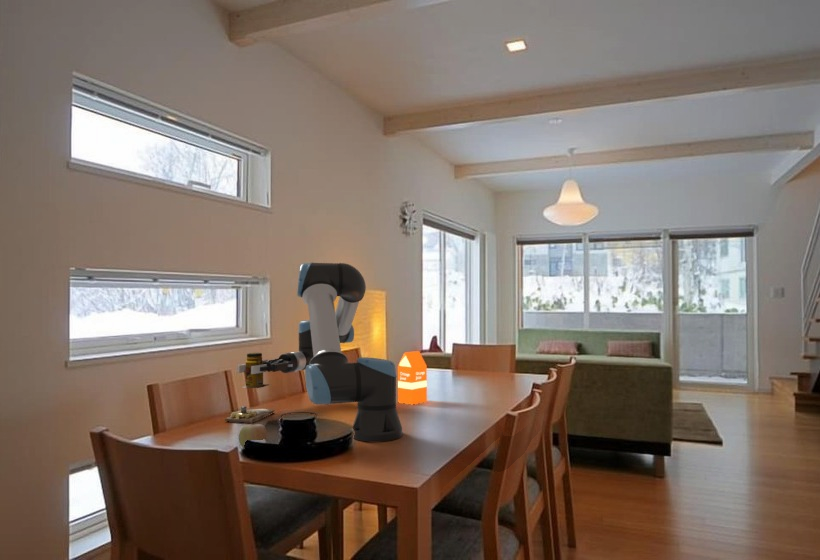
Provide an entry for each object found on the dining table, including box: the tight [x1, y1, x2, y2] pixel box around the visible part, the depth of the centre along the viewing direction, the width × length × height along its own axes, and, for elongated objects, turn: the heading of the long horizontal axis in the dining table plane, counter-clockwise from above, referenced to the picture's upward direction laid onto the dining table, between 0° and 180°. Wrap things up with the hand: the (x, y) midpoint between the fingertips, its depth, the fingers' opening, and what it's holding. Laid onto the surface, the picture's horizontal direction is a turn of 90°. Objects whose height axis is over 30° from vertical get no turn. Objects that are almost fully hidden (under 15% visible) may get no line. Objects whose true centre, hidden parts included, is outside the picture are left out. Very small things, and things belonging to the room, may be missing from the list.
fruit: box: [238, 420, 268, 449], centre depth 152 cm, size 8×7×8 cm
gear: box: [230, 406, 257, 419], centre depth 188 cm, size 9×9×3 cm
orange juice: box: [397, 350, 428, 406], centre depth 216 cm, size 8×9×20 cm
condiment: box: [242, 352, 272, 389], centre depth 196 cm, size 7×8×12 cm
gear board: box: [224, 408, 275, 424], centre depth 191 cm, size 16×10×1 cm, turn 167°
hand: (245, 369), depth 191 cm, fingers closed on condiment, 6 cm apart
